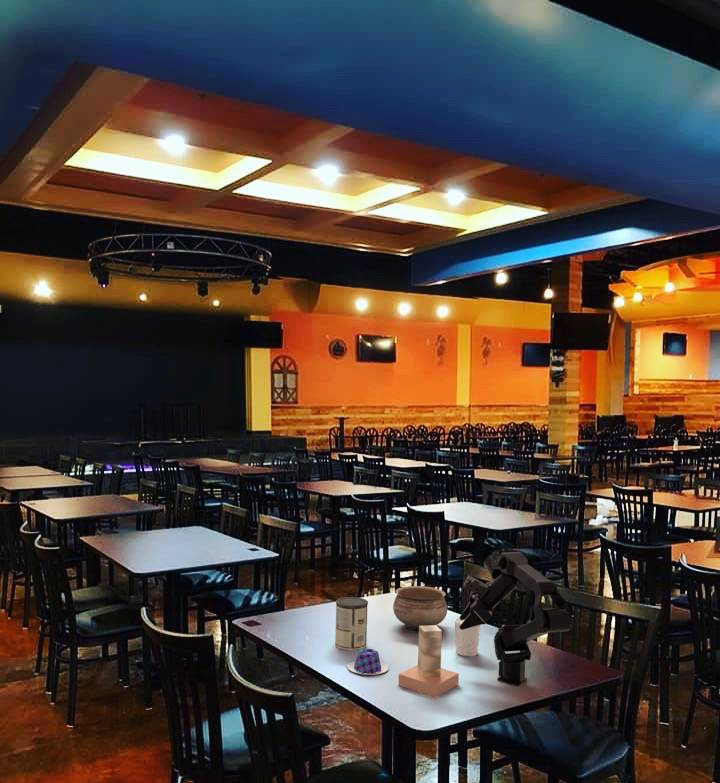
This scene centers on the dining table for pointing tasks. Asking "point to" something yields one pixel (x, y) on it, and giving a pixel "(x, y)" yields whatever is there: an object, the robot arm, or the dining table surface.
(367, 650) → the pudding
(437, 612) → the cooking pot
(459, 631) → the white cup
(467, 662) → the dining table surface
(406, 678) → the terracotta base
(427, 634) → the maple block
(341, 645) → the coffee can
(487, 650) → the dining table surface
